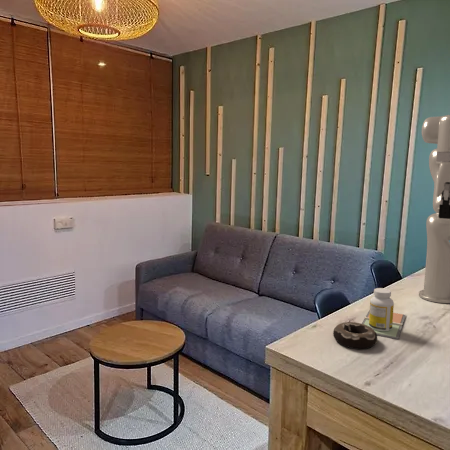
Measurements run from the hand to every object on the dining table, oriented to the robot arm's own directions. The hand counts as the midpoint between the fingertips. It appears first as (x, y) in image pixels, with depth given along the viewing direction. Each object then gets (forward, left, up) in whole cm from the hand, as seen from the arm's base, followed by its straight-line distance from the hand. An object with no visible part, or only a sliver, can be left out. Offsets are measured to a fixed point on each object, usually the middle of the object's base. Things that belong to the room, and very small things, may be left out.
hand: (445, 215), depth 118 cm
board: (+10, -14, -34) cm, 38 cm away
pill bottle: (+15, -14, -33) cm, 39 cm away
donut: (+27, -19, -34) cm, 47 cm away
